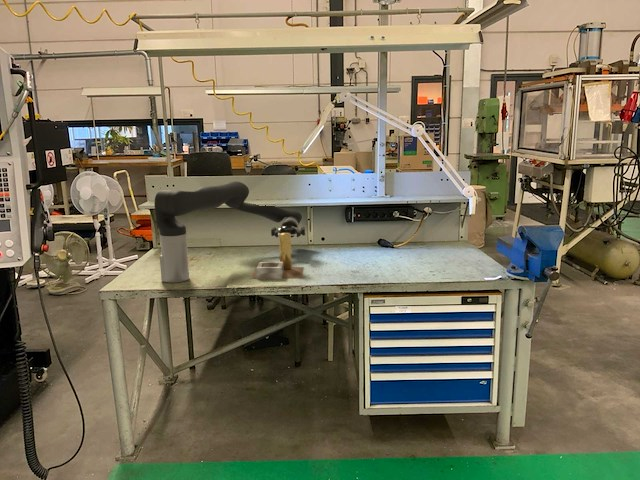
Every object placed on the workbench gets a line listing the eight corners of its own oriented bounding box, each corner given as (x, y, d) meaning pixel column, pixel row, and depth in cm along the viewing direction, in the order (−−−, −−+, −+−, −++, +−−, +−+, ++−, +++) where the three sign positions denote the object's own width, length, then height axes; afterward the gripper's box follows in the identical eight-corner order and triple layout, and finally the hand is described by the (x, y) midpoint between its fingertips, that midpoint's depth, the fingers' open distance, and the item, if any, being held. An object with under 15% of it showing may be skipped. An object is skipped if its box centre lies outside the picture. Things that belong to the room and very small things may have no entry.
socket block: (250, 281, 174) (249, 268, 173) (256, 269, 189) (255, 257, 188) (302, 281, 173) (302, 267, 172) (304, 269, 189) (303, 257, 188)
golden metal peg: (279, 270, 184) (278, 234, 182) (280, 267, 189) (279, 232, 186) (291, 270, 184) (290, 234, 181) (291, 267, 189) (290, 232, 186)
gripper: (273, 219, 211) (269, 226, 195) (305, 218, 211) (304, 225, 195) (274, 236, 212) (270, 244, 197) (306, 235, 212) (304, 243, 196)
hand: (287, 234), depth 196 cm, fingers open, 8 cm apart
